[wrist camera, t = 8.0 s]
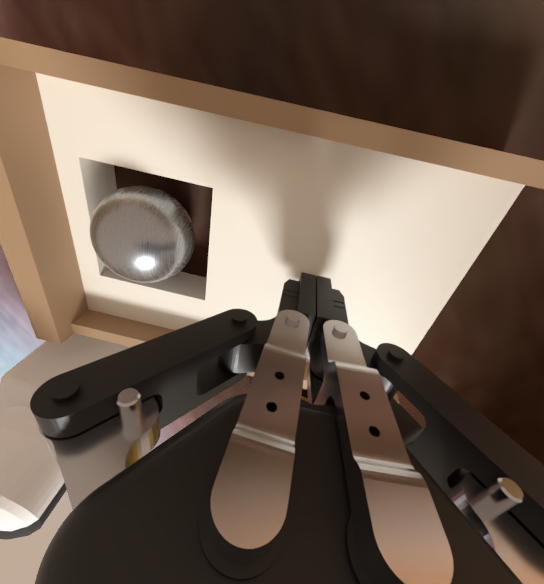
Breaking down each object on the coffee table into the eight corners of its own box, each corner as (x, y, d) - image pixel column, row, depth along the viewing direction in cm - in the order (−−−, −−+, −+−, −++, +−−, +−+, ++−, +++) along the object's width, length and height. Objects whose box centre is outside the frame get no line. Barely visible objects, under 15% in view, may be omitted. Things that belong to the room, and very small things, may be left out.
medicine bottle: (140, 391, 26) (28, 560, 16) (69, 353, 24) (-105, 514, 14) (169, 351, 22) (51, 536, 12) (89, 304, 21) (-123, 471, 11)
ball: (171, 213, 11) (50, 185, 11) (172, 310, 14) (75, 288, 14) (209, 188, 15) (122, 168, 15) (204, 266, 18) (131, 249, 18)
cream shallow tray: (502, 156, 12) (598, 171, 8) (380, 362, 20) (397, 425, 16) (46, 52, 13) (-87, 15, 8) (94, 294, 20) (36, 338, 16)
